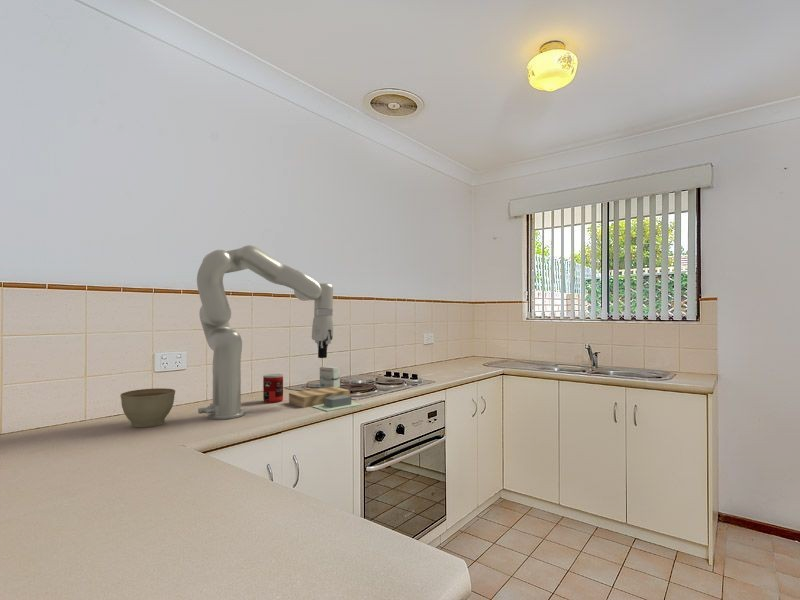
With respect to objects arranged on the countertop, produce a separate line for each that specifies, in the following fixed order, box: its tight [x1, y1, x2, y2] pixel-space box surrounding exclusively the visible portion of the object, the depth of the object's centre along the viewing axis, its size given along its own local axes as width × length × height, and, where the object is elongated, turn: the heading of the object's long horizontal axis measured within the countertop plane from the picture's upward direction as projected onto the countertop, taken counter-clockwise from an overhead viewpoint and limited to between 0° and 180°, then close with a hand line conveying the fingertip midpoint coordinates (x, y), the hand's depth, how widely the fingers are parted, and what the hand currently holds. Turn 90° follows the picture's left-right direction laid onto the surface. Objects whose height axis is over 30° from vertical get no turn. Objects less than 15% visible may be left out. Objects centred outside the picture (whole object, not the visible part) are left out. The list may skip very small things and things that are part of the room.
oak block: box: [288, 387, 351, 408], centre depth 186 cm, size 22×12×4 cm, turn 132°
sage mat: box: [311, 401, 362, 412], centre depth 176 cm, size 16×11×1 cm
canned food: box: [262, 373, 284, 404], centre depth 187 cm, size 8×8×11 cm
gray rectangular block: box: [324, 395, 352, 408], centre depth 177 cm, size 9×6×3 cm, turn 132°
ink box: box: [319, 366, 341, 389], centre depth 205 cm, size 9×5×12 cm, turn 58°
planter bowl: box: [120, 387, 176, 428], centre depth 150 cm, size 16×16×11 cm
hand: (322, 357), depth 183 cm, fingers closed
